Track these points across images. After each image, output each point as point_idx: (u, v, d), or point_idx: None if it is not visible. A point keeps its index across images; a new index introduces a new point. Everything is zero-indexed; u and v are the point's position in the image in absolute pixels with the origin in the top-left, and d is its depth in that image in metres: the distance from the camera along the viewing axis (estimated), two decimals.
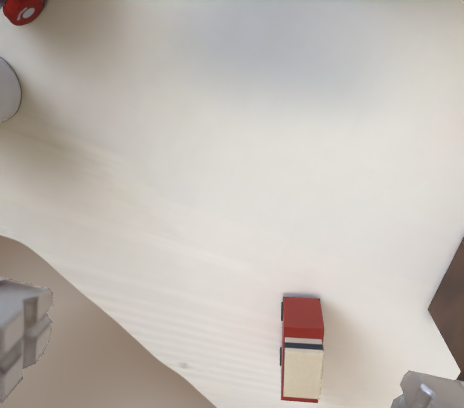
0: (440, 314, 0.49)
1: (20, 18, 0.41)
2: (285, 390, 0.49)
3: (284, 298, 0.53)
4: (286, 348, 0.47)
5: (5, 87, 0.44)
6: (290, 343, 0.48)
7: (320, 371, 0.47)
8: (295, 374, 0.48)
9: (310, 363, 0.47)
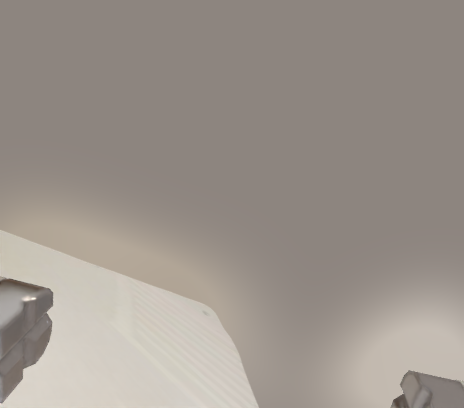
0: None
1: None
2: None
3: None
4: None
5: None
6: None
7: None
8: None
9: None
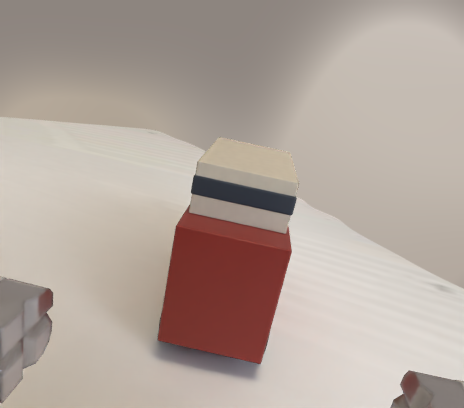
0: None
1: None
2: (287, 154, 0.23)
3: (258, 357, 0.18)
4: (292, 193, 0.17)
5: None
6: (277, 208, 0.17)
7: (211, 150, 0.20)
8: (268, 160, 0.20)
9: (233, 160, 0.18)
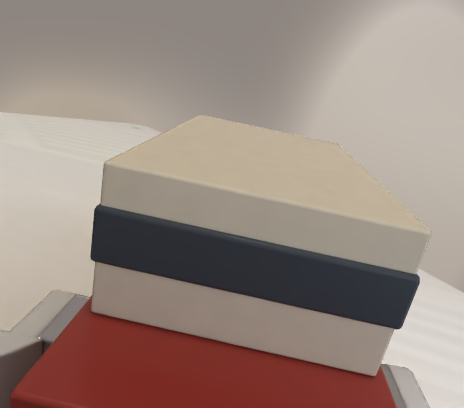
0: None
1: None
2: (337, 148, 0.11)
3: None
4: (408, 264, 0.05)
5: None
6: (355, 309, 0.06)
7: (168, 135, 0.08)
8: (308, 158, 0.09)
9: (221, 160, 0.07)
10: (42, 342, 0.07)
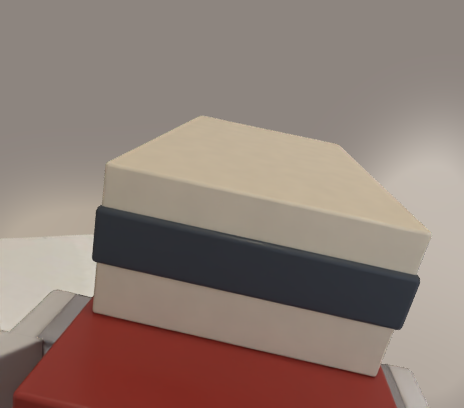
0: None
1: None
2: (338, 148, 0.11)
3: None
4: (408, 265, 0.05)
5: None
6: (355, 309, 0.06)
7: (169, 136, 0.08)
8: (308, 159, 0.09)
9: (222, 160, 0.07)
10: (42, 342, 0.07)
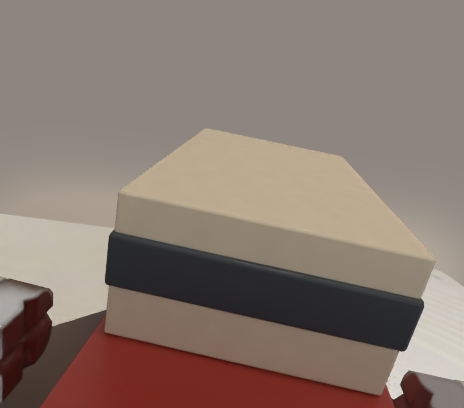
0: None
1: None
2: (341, 161, 0.11)
3: None
4: (412, 290, 0.05)
5: None
6: (361, 331, 0.06)
7: (177, 156, 0.08)
8: (313, 176, 0.09)
9: (230, 182, 0.07)
10: None
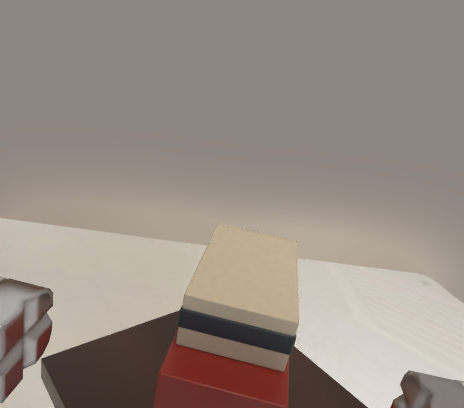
0: None
1: None
2: (292, 248, 0.21)
3: None
4: (291, 333, 0.15)
5: None
6: (273, 347, 0.15)
7: (204, 262, 0.18)
8: (269, 269, 0.18)
9: (227, 282, 0.16)
10: None
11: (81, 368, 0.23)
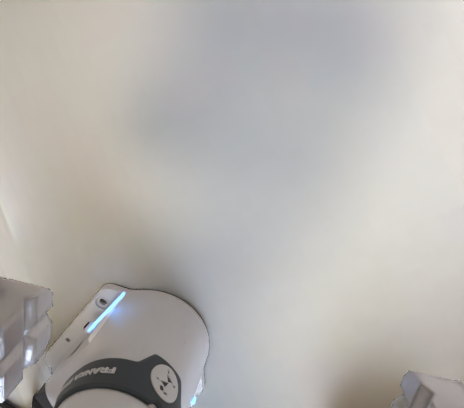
0: None
1: None
2: None
3: None
4: None
5: None
6: None
7: None
8: None
9: None
10: None
11: None
